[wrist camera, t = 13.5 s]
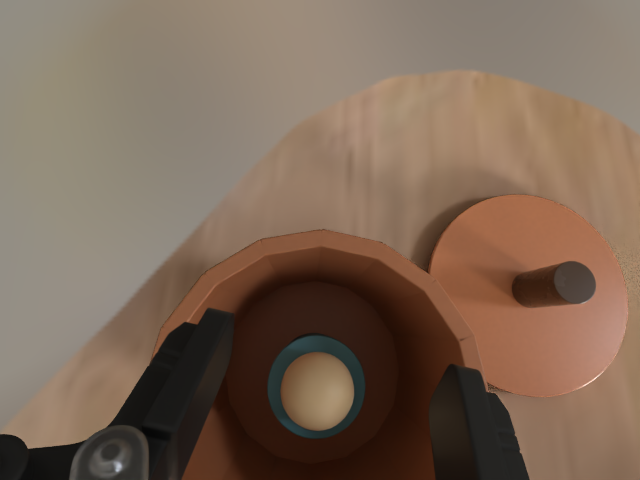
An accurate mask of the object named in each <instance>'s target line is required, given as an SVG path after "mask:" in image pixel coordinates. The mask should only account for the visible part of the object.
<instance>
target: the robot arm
mask: <svg viewBox="0 0 640 480" xmlns="http://www.w3.org/2000/svg"><path fill="white" fill-rule="evenodd" d="M234 321H235V314H234V313H231V312H227V311H222V310H218V309H213V308H207V309H206V311H205V312H204V314H203V316H202V318H201V320H200V321H199V323H198V325H197V324H192V323H188V322H183V323H182V324H181V325H179V326H178V327H177V328H175V329H174V330H173V331H171V332H170V333H169V334H168V335H167V337H166V338H165V340H164V342H163V343H162V345H161V346H160V348H159V350H158V353H156V354H155V356H154V357H153V359H152V361H151V362H150V365H149V366H148V367H147V368H146V370H145V372H144V373H143V375H142V376H141V378H140V379H139V381H138V383H137V384H136V386H135V387H134V389H133V390H132V392H131V394H130V395H129V397H128V398H127V400H126V401H125V403H124V405H123V406H122V408H121V409H120V411H119V413H118V414H117V416H116V417H115V418H114V420H113V421H112V422H111V423H110V424H109V425H108V426H107V427H106V428H105V429H102V430H100V431H98V432H96V433H95V434H93V435H92V436H91V437H89V438H88V439H87V440H85V441H82V442H79V443H75V444H70V445H62V446H52V447H42V448H33V449H28V448H27V446H26V444H25V443H24V442H23V441H22V440H21V439H20V438H18V437H16V436H13V435H7V434H0V480H181V479H182V477H183V475H184V472H185V470H186V467H187V465H188V462H189V460H190V458H191V455H192V453H193V450H194V448H195V446H196V443H197V441H198V438H199V436H200V434H201V431H202V429H203V426H204V424H205V421H206V419H207V417H208V414H209V412H210V409H211V407H212V405H213V402H214V400H215V397H216V395H217V392H218V390H219V388H220V385H221V383H222V380H223V378H224V376H225V373H226V371H227V368H228V365H229V361H230V358H231V353H232V345H233V333H234ZM428 418H429V427H430V436H431V445H432V453H433V462H434V471H435V479H436V480H530V479H529V476H528V473H527V470H526V467H525V463H524V460H523V457H522V454H521V453H520V447H519V444H518V441H517V438H516V436H515V435H514V434H515V431H514V428H513V425H512V422H511V418H510V415H509V412H508V411H507V409H506V408H505V407H504V405H503V404H502V402H501V401H500V399H499V398H498V396H497V395H496V394H494V393H490V392H486V388H485V385H484V381H483V377H482V374H481V372H480V371H479V370H477V369H473V368H468V367H464V366H460V365H455V364H450V365H449V366H448V367H447V369H446V371H445V372H444V374H443V376H442V378H441V380H440V382H439V384H438V385H437V387H436V389H435V391H434V393H433V395H432V397H431V400H430V404H429V412H428Z"/></svg>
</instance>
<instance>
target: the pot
mask: <svg viewBox="0 0 640 480" xmlns="http://www.w3.org/2000/svg"><path fill="white" fill-rule="evenodd" d="M207 308H213V309H218V310H222V311H227V312H231V313H234V314H235V321H234V333H233V345H232V353H231V358H230V361H229V365H228V368H227V371H226V373H225V376H224V378H223V380H222V383H221V385H220V388H219V390H218V392H217V395H216V397H215V400H214V402H213V405H212V407H211V409H210V412H209V414H208V417H207V419H206V421H205V424H204V426H203V429H202V431H201V434H200V436H199V438H198V441H197V443H196V446H195V448H194V450H193V453H192V455H191V458H190V460H189V462H188V465H187V467H186V470H185V472H184V475H183V477H182V479H181V480H436V479H435V471H434V462H433V453H432V445H431V436H430V427H429V418H428V412H429V404H430V400H431V397H432V395H433V393H434V391H435V389H436V387H437V385H438V384H439V382H440V380H441V378H442V376H443V374H444V372H445V371H446V369H447V367H448V366H449V365H450V364H455V365H460V366H464V367H468V368H473V369H477V370H479V371H480V372H481V374H482V377H483V381H484V385H485V388H486V392H489V389H488V385H487V381H486V377H485V373H484V370H483V366H482V362H481V358H480V354H479V350H478V346H477V342H476V338H475V335H474V333H473V331H472V330H471V328H470V327H469V325H468V324H467V322H466V321H465V320H464V318H463V317H462V315H461V314H460V312H459V311H458V309H457V308H456V307H455V305H454V304H453V302H452V301H451V299H450V298H449V296H448V295H447V294H446V292H445V291H444V289H443V288H442V286H441V285H440V284H439V282H438V281H437V280H435V278H434V277H433V276H431V275H430V274H428V273H427V272H425V271H424V270H422V269H421V268H419V267H418V266H416V265H415V264H413V263H412V262H411V261H409V260H408V259H406V258H405V257H403V256H402V255H400V254H399V253H397V252H396V251H394V250H393V249H391V248H390V247H389V246H387V245H386V244H383V243H382V242H378V241H374V240H369V239H365V238H360V237H356V236H351V235H347V234H343V233H338V232H334V231H329V230H325V229H322V230H313V231H307V232H301V233H295V234H289V235H282V236H276V237H270V238H264V239H261V240H258V241H256V242H254V243H253V244H251V245H249V246H248V247H246V248H244V249H242V250H241V251H239V252H237V253H236V254H234V255H232V256H231V257H229V258H227V259H226V260H224V261H222V262H221V263H219V264H217V265H216V266H214V267H212V268H211V269H209V270H207V271H206V272H205V274H202V276H201V277H200V278H199V279H198V281H197V282H196V283H195V285H194V286H193V287H192V288H191V290H190V291H189V292H188V293H187V295H186V296H185V297H184V299H183V300H182V301H181V302H180V304H179V305H178V306H177V308H176V309H175V310H174V311H173V313H172V314H171V315H170V317H169V318H168V319H167V320H166V322H165V323H164V324H163V326H162V327H161V329H160V332H159V335H158V339H157V342H156V345H155V349H154V352H153V355H152V358H151V361H152V359H153V357H154V356H155V354H156V353H158V350H159V348H160V346H161V345H162V343H163V342H164V340H165V338H166V337H167V335H168V334H169V333H170V332H171V331H173V330H174V329H175V328H177V327H178V326H179V325H181V324H182V323H183V322H188V323H192V324H197V325H198V323H199V321H200V320H201V318H202V316H203V314H204V312H205V311H206V309H207ZM307 333H320V334H324V335H327V336H329V337H332V338H334V339H336V340H339V341H340V342H342V343H343V344H345V345H346V346H347V347H349V348H350V349H351V351H352V352H353V353H354V354H355V355H356V357H357V358H358V360H359V362H360V364H361V366H362V369H363V372H364V376H365V397H364V401H363V404H362V407H361V410H360V411H359V413H358V415H357V417H356V418H355V419H354V421H353V422H352V423H351V424H350V425H349V426H348V427H347V428H346V429H344V430H343V431H341V432H340V433H338V434H336V435H334V436H331V437H328V438H323V439H309V438H304V437H301V436H298V435H296V434H294V433H292V432H291V431H289V430H288V429H286V428H285V427H284V426H283V425H282V424H281V423H280V422H279V421H278V419H277V418H276V416H275V415H274V413H273V411H272V409H271V406H270V403H269V399H268V393H267V381H268V375H269V372H270V368H271V366H272V364H273V362H274V360H275V358H276V357H277V355H278V354H279V353H280V352H281V351H282V350H283V349H284V348H285V347H286V346H287V345H288V344H289V343H290V342H291V341H292V340H293V339H295V338H297V337H298V336H301V335H303V334H307Z"/></svg>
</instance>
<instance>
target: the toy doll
mask: <svg viewBox="0 0 640 480" xmlns="http://www.w3.org/2000/svg"><path fill="white" fill-rule="evenodd" d="M267 393H268V399H269V403H270V406H271V409H272V411H273V413H274V415H275V416H276V418H277V419H278V421H279V422H280V423H281V424H282V425H283V426H284V427H285V428H286V429H288V430H289V431H291V432H292V433H294V434H296V435H298V436H301V437H304V438H309V439H323V438H328V437H331V436H334V435H336V434H338V433H340V432H341V431H343V430H344V429H346V428H347V427H348V426H349V425H350V424H351V423H352V422H353V421H354V419H355V418H356V417H357V415H358V413H359V411H360V410H361V407H362V404H363V401H364V397H365V376H364V372H363V369H362V366H361V364H360V362H359V360H358V358H357V357H356V355H355V354H354V353H353V352H352V351H351V349H350V348H349V347H347V346H346V345H345V344H343V343H342V342H340V341H339V340H336V339H334V338H332V337H329V336H327V335H324V334H320V333H307V334H303V335H301V336H298V337H297V338H295V339H293V340H292V341H291V342H290V343H289V344H288V345H287V346H286V347H285V348H284V349H283V350H282V351H281V352H280V353H279V354H278V355H277V357H276V358H275V360H274V362H273V364H272V366H271V368H270V372H269V375H268V381H267Z"/></svg>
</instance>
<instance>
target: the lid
mask: <svg viewBox="0 0 640 480" xmlns="http://www.w3.org/2000/svg"><path fill="white" fill-rule="evenodd" d="M428 274H430V275H431V276H433V277H434V278H435V280H437V281H438V282H439V284H440V285H441V286H442V288H443V289H444V291H445V292H446V294H447V295H448V296H449V298H450V299H451V301H452V302H453V304H454V305H455V307H456V308H457V309H458V311H459V312H460V314H461V315H462V317H463V318H464V320H465V321H466V322H467V324H468V325H469V327H470V328H471V330H472V331H473V333H474V335H475V338H476V342H477V346H478V350H479V354H480V358H481V362H482V366H483V370H484V373H485V377H486V381H487V383H488V384H490V385H492V386H495V387H497V388H499V389H501V390H504V391H508V392H511V393H514V394H518V395H524V396H530V397H549V396H557V395H562V394H565V393H569V392H572V391H574V390H577V389H579V388H581V387H583V386H585V385H586V384H588V383H589V382H591V381H593V380H594V379H595V378H596V377H598V376H599V375H600V374H601V373H602V372H603V371H604V370H605V369H606V368H607V367H608V365H609V364H610V363H611V362H612V360H613V359H614V357H615V355H616V354H617V352H618V350H619V348H620V345H621V343H622V341H623V338H624V334H625V330H626V326H627V319H628V296H627V289H626V284H625V281H624V277H623V273H622V271H621V268H620V266H619V263H618V261H617V259H616V257H615V256H614V254H613V252H612V250H611V248H610V247H609V246H608V244H607V243H606V241H605V240H604V238H603V237H602V236H601V235H600V234H599V233H598V232H597V231H596V229H595V228H594V227H593V226H591V225H590V224H589V223H588V222H587V221H586V220H585V219H583V218H582V217H581V216H579V215H578V214H577V213H575V212H574V211H572V210H570V209H568V208H567V207H565V206H563V205H561V204H558V203H556V202H554V201H551V200H548V199H544V198H541V197H536V196H530V195H516V194H513V195H502V196H497V197H493V198H489V199H486V200H484V201H481V202H479V203H477V204H475V205H473V206H471V207H469V208H468V209H466V210H465V211H464V212H462V213H461V214H460V215H458V216H457V217H456V218H455V219H454V220H453V221H452V222H451V223H450V224H449V225H448V226H447V227H446V229H445V230H444V231H443V233H442V234H441V236H440V238H439V239H438V241H437V243H436V245H435V247H434V250H433V253H432V255H431V259H430V263H429V268H428Z"/></svg>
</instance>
